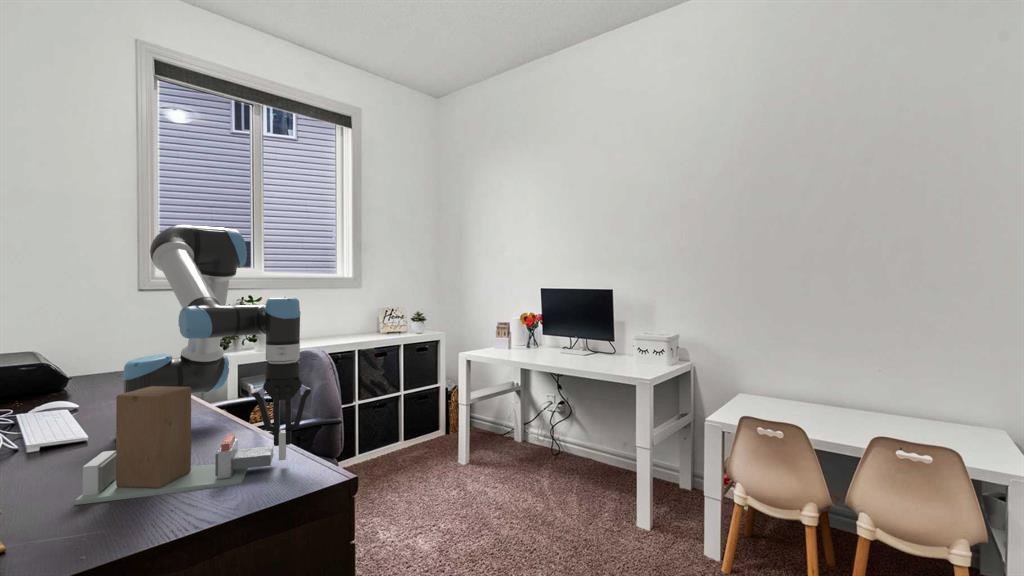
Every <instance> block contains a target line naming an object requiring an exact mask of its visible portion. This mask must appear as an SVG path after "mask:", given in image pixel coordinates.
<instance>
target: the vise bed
mask: <svg viewBox="0 0 1024 576" xmlns="http://www.w3.org/2000/svg"><path fill="white" fill-rule="evenodd" d="M248 469H249V468H244V469H235V470H234V472H233V474H232V476H231V477H230V478H221V479H218V476H215V463H208V464H201V465H199V464H198V465H191V471H190V472H189V473H187V474H185V475H183V476H181V477H179V478H178V479H176V480H174V481H172V482H170V483H168V484H166V485H164V486H162V487H161V488H138V487H117V486H116V450H106V451H102V452H100V453H99V454H98V455H97V456H95V457H94V458H93V459H91V460H90V461H89V462H87V463H86V464H84V465H83V466H82V493H81V495H80V496H78V497H77V498H76V499H75V501H74V502H75V503H74V504H75V506H76V505H77V506H78V505H84V504H92V503H93V504H95V503H103V502H110V501H119V500H126V499H127V500H128V499H134V498H136V499H137V498H144V497H145V498H146V497H151V496H152V497H153V496H159V495H167V494H175V493H181V492H189V491H196V490H205V489H209V488H217V487H218V488H219V487H223V486H226V487H227V486H233V485H238V484H243V481H244V479H245V476H246V474H247V471H248Z"/></svg>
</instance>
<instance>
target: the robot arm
mask: <svg viewBox="0 0 1024 576" xmlns="http://www.w3.org/2000/svg"><path fill="white" fill-rule="evenodd" d="M247 252H248V251H247V245H246V242H245V239H244V237H243V235H242V233H241V232H240V231H238V230H237V229H232V228H225V227H218V226H217V227H215V226H203V225H191V224H178V225H172V226H169V227H168V228H167V227H166V229H163V230H161V232H159V233H158V234H157V235H156V236H155V238H154V239H153V240H152V242H151V245H150V249H149V253H150V259H151V260H152V263H153V265H154V266H155V268H156V269H158V270H159V271H161V272H162V273H163V275H164V276H165V278H166V281H167V282H168V284H169V285H170V288H171V289H172V291H173V293H174V295H175V297H176V300H178V301H177V302H178V303H179V304H180V307H181V309H180V311H179V315H178V327H179V332H180V334H181V336H182V337H183V338H185V339H188V341H187V346H185V347H184V348H182V349H181V351H180V357H173V356H172V355H171V354H170V353H161V354H151V355H145V356H140V357H137V358H133V359H130V360H129V361H128V362H126V363H125V364H124V367H123V375H122V380H123V381H122V382H123V385H122V386H123V391H122V392H123V393H127V392H131V391H135V390H139V389H143V388H147V387H150V386H170V387H191V395H192V394H198V393H209V392H211V391H212V392H213V391H217V390H219V389H221V388H223V386H224V385H225V384H226V382H227V381H228V377H229V374H230V367H229V366H230V362H229V361H230V360H229V358H228V356H227V355H226V354H225V351H224V349H222V348H221V347H220V346H221V339H222V338H224V337H239V336H241V337H243V336H256V335H265V361H267V363H266V364H265V381H264V383H263V386H262V387H261V388H260V389H257V390H255V391H254V392H253V393H252V396H253V398H254V399H255V400H256V402H257V405H258V407H259V411H260V415H261V419H262V423H263V426H264V430H265V431H266V432H271V433H273V447H278V461H286V460H287V446H290V445H291V443H292V431H294V430H298V429H299V427H300V424H301V419H302V417H303V412H304V410H305V404H306V400H307V398H308V397H309V395H310V394H311V392H312V389H311V387H307V386H306V385H304V384H303V382H302V380H301V377H300V375H301V374H300V373H301V372H300V370H301V369H300V368H301V365H300V364H301V363H300V361H298V360H300V358H301V357H300V356H301V348H300V347H301V343H300V342H301V341H300V339H301V338H300V335H301V334H300V333H301V314H302V313H301V307H300V300H299V299H298V298H296V297H269V298H268V299H267V300H266V302H265V303H258V304H257V303H256V304H255V303H254V304H239V305H237V304H236V305H233V304H232V305H226V304H227V298H228V292H229V285H230V280H231V279H232V278H233V277H235V276H236V274H237V270H238V269H240V268H243V267H244V266H245V265H246V262H247V257H248V255H247V254H248V253H247ZM299 390H300V392H299V394H300V396H301V397H300V400H299V404H298V407H297V410H296V414H295V419H294V422H293V423H292V399H293V398H294V397H295V395H296V394H297V393H298V391H299ZM123 393H122V394H123ZM266 394H268V396H269V397H270V398H271V399H272V401H273V424H272V420H271V418H270V415H269V414H270V413H269V410H268V406H267V402H266V400H265V396H266ZM281 401H285V402H284V404H285V405H284V406H285V409H284V410H285V415H284V416H285V419H284V420H285V421H284V422H285V426H284V428H285V429H283V430H281V429H280V428H281Z"/></svg>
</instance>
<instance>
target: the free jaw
mask: <svg viewBox="0 0 1024 576" xmlns="http://www.w3.org/2000/svg"><path fill="white" fill-rule="evenodd" d="M214 458H215V461H214V464H215V476H218V479H221V478H230V477H231V476H232V474H233V472H234V470H235V469H244V468H248V469H250V468H251V469H252V468H260V467H268V466H269V467H271V465H272V463H273V458H274V445H270V446H260V447H250V448H249V447H247V448H239V438H238V437H237V438H236V433H230V434H227V435H226V436H225V438H224V439H223V441H222V443H220V446H219V448H218V449H217V451H216V453H215V457H214Z"/></svg>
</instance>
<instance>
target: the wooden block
mask: <svg viewBox="0 0 1024 576" xmlns="http://www.w3.org/2000/svg"><path fill="white" fill-rule="evenodd" d="M115 404H116V407H115V408H116V410H115V411H116V412H115V413H116V417H115V418H116V420H115V422H116V423H115V424H116V429H115V442H116V443H115V445H116V446H115V447H116V450H115V451H116V486H117V487H138V488H161V487H162V486H164V485H166V484H168V483H170V482H172V481H174V480H176V479H178V478H179V477H181V476H183V475H185V474H187V473H189V472H190V471H191V466H192V394H191V387H170V386H150V387H147V388H143V389H139V390H135V391H131V392H127V393H120V394H117V395H116V402H115Z"/></svg>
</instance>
